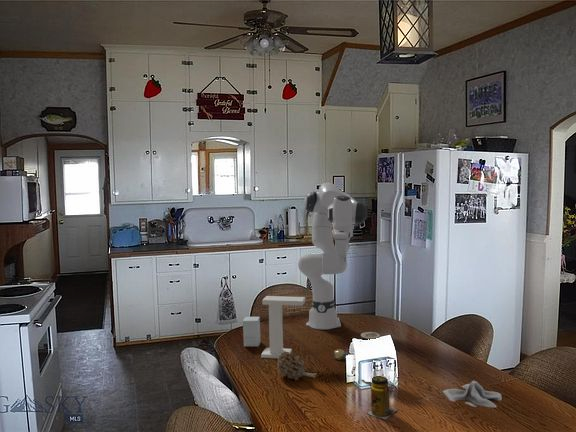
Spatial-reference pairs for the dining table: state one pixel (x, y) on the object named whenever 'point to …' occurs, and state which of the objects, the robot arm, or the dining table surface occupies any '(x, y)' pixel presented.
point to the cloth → (473, 395)
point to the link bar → (339, 354)
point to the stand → (278, 323)
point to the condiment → (380, 398)
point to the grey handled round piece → (292, 366)
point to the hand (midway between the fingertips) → (343, 263)
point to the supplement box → (251, 331)
